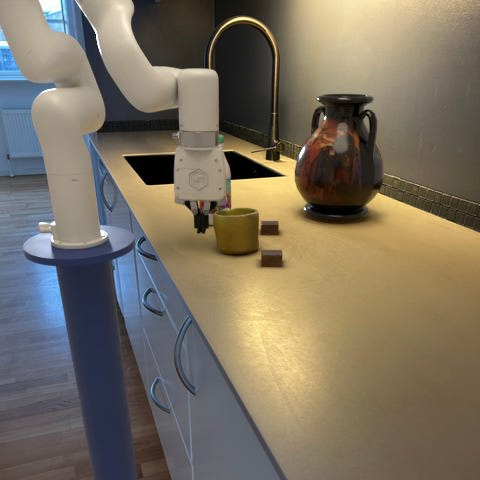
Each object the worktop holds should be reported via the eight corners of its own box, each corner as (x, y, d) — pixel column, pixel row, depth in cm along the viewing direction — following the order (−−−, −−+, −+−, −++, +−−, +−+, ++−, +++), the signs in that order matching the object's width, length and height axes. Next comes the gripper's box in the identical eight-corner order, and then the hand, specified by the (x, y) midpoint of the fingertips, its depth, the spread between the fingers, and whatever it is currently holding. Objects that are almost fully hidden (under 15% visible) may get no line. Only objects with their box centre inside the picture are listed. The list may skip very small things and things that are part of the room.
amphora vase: (396, 217, 128) (413, 95, 115) (339, 233, 116) (350, 100, 103) (332, 200, 143) (340, 91, 130) (275, 213, 131) (278, 95, 118)
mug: (272, 247, 102) (256, 199, 99) (224, 265, 102) (206, 217, 99) (263, 240, 113) (248, 196, 110) (220, 256, 113) (204, 213, 110)
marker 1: (260, 234, 116) (260, 224, 114) (260, 230, 118) (260, 220, 117) (278, 234, 115) (278, 224, 114) (277, 230, 118) (278, 220, 117)
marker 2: (261, 266, 98) (261, 254, 97) (261, 261, 100) (261, 249, 99) (282, 266, 98) (282, 255, 97) (281, 261, 100) (281, 249, 99)
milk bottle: (197, 217, 128) (194, 133, 119) (228, 216, 129) (227, 132, 120) (202, 226, 121) (199, 138, 112) (234, 224, 123) (233, 137, 113)
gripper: (157, 142, 95) (163, 236, 104) (237, 143, 95) (236, 238, 103) (164, 136, 102) (169, 225, 110) (238, 137, 102) (238, 227, 110)
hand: (201, 231), depth 107 cm, fingers closed
